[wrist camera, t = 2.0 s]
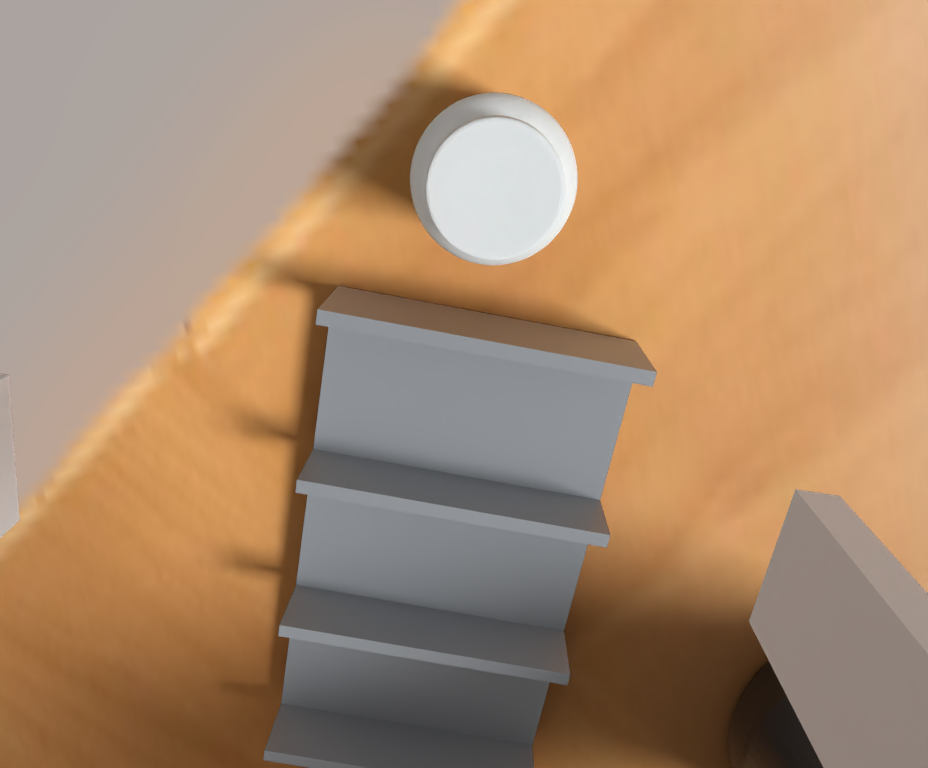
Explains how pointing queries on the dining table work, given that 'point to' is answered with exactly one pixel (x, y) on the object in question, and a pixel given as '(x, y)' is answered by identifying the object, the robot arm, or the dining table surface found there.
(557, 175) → the supplement bottle
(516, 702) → the rack
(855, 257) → the dining table surface
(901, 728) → the robot arm
